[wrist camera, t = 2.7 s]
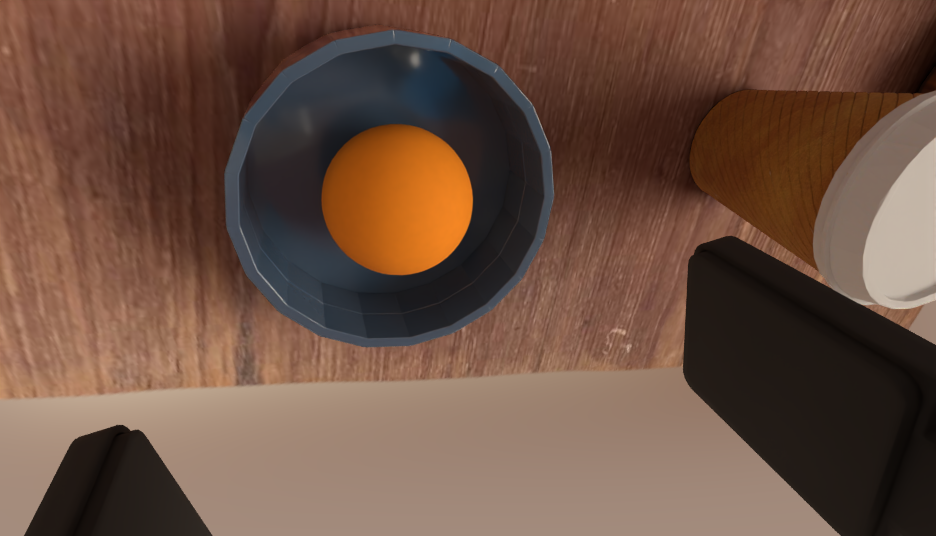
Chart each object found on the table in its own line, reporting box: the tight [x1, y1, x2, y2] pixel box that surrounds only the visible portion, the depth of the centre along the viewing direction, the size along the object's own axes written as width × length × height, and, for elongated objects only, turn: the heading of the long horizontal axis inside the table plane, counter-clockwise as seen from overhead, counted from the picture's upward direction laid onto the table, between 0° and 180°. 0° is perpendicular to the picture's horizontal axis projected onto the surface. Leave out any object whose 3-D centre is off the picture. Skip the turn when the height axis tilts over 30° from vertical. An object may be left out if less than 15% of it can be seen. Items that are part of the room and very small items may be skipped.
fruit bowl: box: [224, 25, 554, 347], centre depth 24 cm, size 13×13×5 cm
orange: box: [321, 124, 473, 275], centre depth 23 cm, size 6×6×6 cm
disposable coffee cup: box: [690, 90, 936, 309], centre depth 26 cm, size 10×10×12 cm
